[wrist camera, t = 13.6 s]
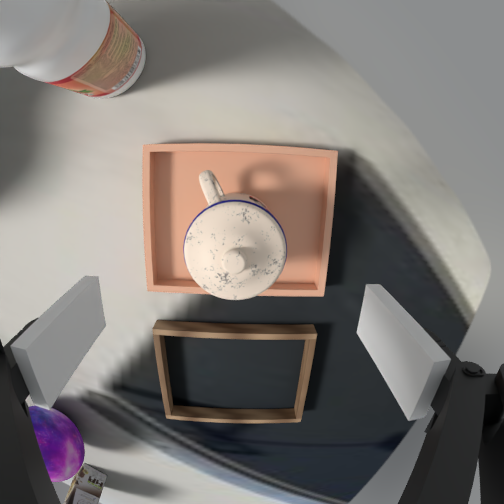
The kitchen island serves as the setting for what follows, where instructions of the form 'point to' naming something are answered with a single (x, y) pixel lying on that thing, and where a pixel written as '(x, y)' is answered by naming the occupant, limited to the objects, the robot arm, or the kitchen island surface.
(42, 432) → the decorative orb
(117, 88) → the fruit juice
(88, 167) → the kitchen island surface
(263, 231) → the teacup with lid
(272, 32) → the kitchen island surface
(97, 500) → the coffee box
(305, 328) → the walnut corral
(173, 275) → the terracotta dish
